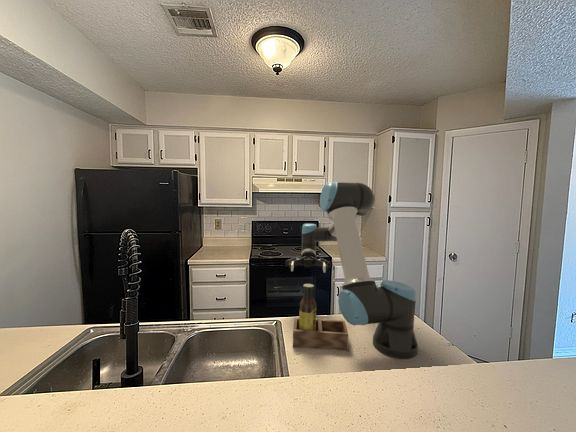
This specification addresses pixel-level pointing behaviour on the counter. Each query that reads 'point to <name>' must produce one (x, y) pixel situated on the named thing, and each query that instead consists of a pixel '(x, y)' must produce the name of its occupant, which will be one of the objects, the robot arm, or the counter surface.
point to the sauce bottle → (307, 309)
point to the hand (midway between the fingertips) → (308, 268)
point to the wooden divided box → (322, 335)
